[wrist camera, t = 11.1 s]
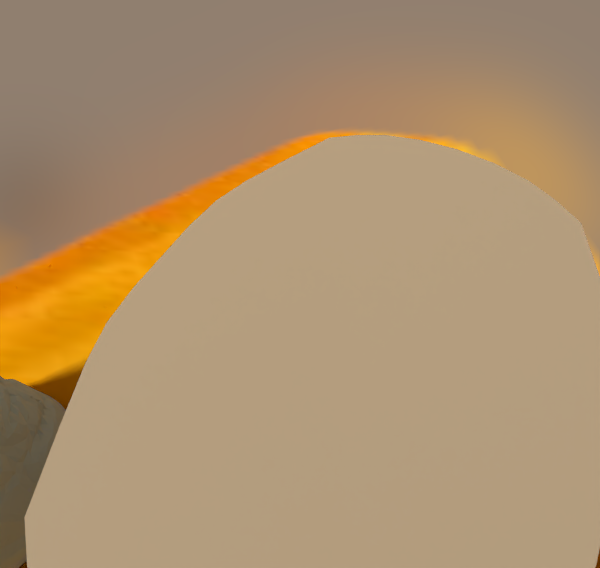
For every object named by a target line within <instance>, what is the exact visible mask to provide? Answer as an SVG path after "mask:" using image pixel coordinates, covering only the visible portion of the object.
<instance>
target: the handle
mask: <svg viewBox="0 0 600 568" xmlns="http://www.w3.org/2000/svg"><path fill="white" fill-rule="evenodd" d="M25 536H26V555H27V568H595V567H596V564H597V559H598V554H599V549H600V276H599V273H598V270H597V267H596V265H595V262H594V259H593V256H592V253H591V250H590V247H589V244H588V241H587V238H586V236H585V233H584V230H583V227H582V224H581V222H579V221H578V220H577V219H576V218H575V217H574V216H573V215H572V214H570V213H569V212H568V211H567V210H566V209H565V208H564V207H563V206H562V205H560V204H559V203H558V202H557V201H556V200H554V199H553V198H552V197H550V196H549V195H548V194H546V193H545V192H544V191H542V190H541V189H539V188H538V187H537V186H535V185H534V184H532V183H531V182H530V181H528V180H526V179H524V178H522V177H520V176H518V175H516V174H514V173H512V172H510V171H508V170H506V169H504V168H502V167H501V166H499V165H497V164H495V163H492V162H489V161H487V160H484V159H481V158H479V157H476V156H473V155H471V154H468V153H465V152H462V151H460V150H457V149H453V148H449V147H445V146H442V145H438V144H434V143H430V142H426V141H422V140H417V139H409V138H402V137H395V136H388V135H354V136H344V137H333V138H328V139H326V140H324V141H322V142H320V143H318V144H316V145H314V146H312V147H310V148H308V149H306V150H304V151H302V152H301V153H299V154H297V155H295V156H293V157H291V158H289V159H287V160H285V161H283V162H281V163H279V164H277V165H275V166H273V167H271V168H270V169H268V170H266V171H264V172H262V173H260V174H258V175H256V176H255V177H253V178H251V179H249V180H247V181H245V182H244V183H242V184H241V185H239V186H238V187H236V188H235V189H233V190H232V191H230V192H229V193H227V194H226V195H224V196H223V197H221V198H219V199H218V200H217V201H215V202H214V203H213V204H212V205H211V206H210V207H209V208H208V209H207V210H206V211H205V212H204V213H203V214H201V215H200V216H199V217H198V218H197V219H196V220H195V221H194V222H193V223H192V224H191V225H190V226H189V227H188V228H187V229H186V230H185V231H184V232H183V233H182V235H181V236H180V237H179V238H178V239H177V240H176V241H175V242H174V243H173V244H172V246H171V247H170V248H169V249H168V250H167V251H166V252H165V253H164V254H163V256H162V257H161V258H160V259H159V260H158V261H157V262H156V263H155V264H154V265H153V267H152V268H151V269H150V270H149V271H148V272H147V273H146V274H145V275H144V277H143V278H142V279H141V280H140V281H139V282H138V283H137V284H136V285H135V286H134V288H133V289H132V290H131V292H130V293H129V294H128V296H127V297H126V298H125V300H124V301H123V302H122V303H121V305H120V306H119V307H118V309H117V310H116V311H115V313H114V314H113V315H112V317H111V318H110V319H109V320H108V322H107V323H106V325H105V327H104V329H103V331H102V333H101V335H100V337H99V339H98V340H97V342H96V344H95V346H94V348H93V350H92V352H91V354H90V356H89V358H88V359H87V361H86V363H85V365H84V368H83V370H82V373H81V375H80V377H79V380H78V382H77V385H76V387H75V390H74V392H73V394H72V397H71V399H70V402H69V404H68V407H67V409H66V412H65V414H64V416H63V419H62V421H61V424H60V426H59V429H58V432H57V434H56V437H55V439H54V442H53V445H52V447H51V450H50V452H49V455H48V458H47V460H46V463H45V465H44V468H43V471H42V473H41V476H40V478H39V481H38V484H37V486H36V489H35V491H34V494H33V497H32V499H31V502H30V504H29V507H28V510H27V512H26V515H25Z"/></svg>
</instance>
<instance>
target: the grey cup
mask: <svg viewBox="0 0 600 568" xmlns="http://www.w3.org/2000/svg"><path fill="white" fill-rule="evenodd" d="M65 412H66V409H65V408H64V407H63V406H62V405H61V404H60V403H59V402H57V401H56V400H55V399H53V398H52V397H50V396H48V395H46V394H44V393H42V392H39V391H37V390H35V389H33V388H31V387H29V386H27V385H25V384H23V383H21V382H19V381H16V380H14V379H6V380H5V379H4V378H2V377H1V376H0V568H19V567H20V566H21V565H23V564H24V563H25V562H26V561H27V555H26V536H25V515H26V512H27V510H28V507H29V504H30V502H31V499H32V497H33V494H34V491H35V489H36V486H37V484H38V481H39V478H40V476H41V473H42V471H43V468H44V465H45V463H46V460H47V458H48V455H49V452H50V450H51V447H52V445H53V442H54V439H55V437H56V434H57V432H58V429H59V426H60V424H61V421H62V419H63V416H64V414H65Z"/></svg>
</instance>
